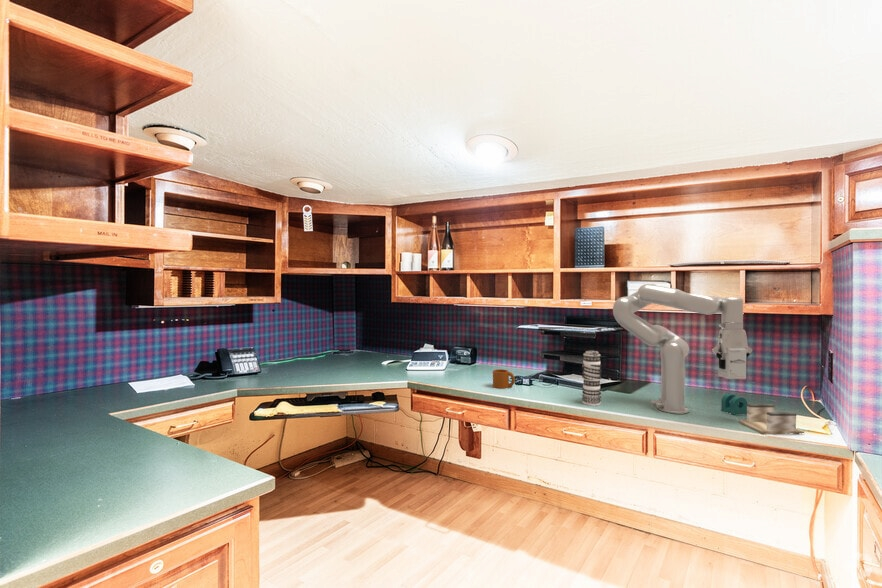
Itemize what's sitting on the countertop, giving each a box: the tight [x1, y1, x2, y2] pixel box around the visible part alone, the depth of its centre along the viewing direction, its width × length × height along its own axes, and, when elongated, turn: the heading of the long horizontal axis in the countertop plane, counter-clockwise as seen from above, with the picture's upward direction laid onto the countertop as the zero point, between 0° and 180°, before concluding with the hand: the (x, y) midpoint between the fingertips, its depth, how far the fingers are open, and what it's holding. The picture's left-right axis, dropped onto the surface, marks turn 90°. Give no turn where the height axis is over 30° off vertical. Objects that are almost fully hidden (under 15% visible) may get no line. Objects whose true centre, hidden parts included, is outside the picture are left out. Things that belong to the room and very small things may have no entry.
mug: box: [492, 369, 516, 390], centre depth 237 cm, size 9×12×9 cm
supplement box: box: [717, 349, 747, 380], centre depth 180 cm, size 7×7×13 cm
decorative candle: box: [581, 350, 603, 406], centre depth 206 cm, size 9×9×25 cm
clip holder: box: [738, 403, 805, 435], centre depth 171 cm, size 16×13×8 cm
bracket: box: [720, 393, 748, 416], centre depth 192 cm, size 18×7×8 cm, turn 99°
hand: (731, 368), depth 180 cm, fingers closed on supplement box, 7 cm apart
